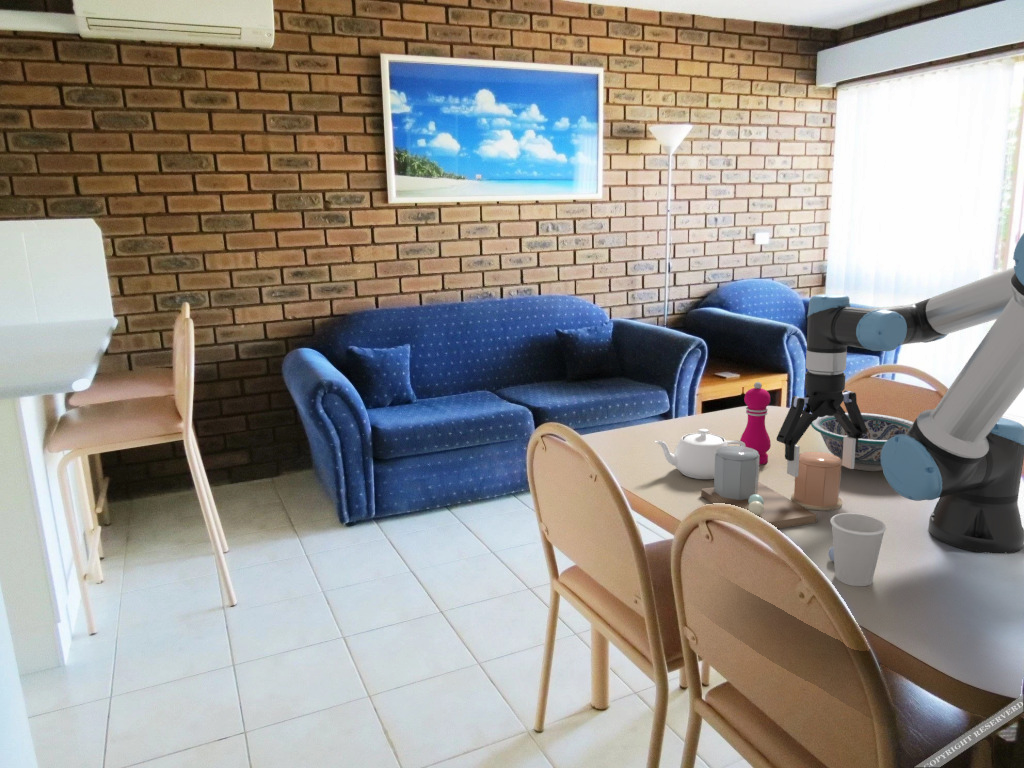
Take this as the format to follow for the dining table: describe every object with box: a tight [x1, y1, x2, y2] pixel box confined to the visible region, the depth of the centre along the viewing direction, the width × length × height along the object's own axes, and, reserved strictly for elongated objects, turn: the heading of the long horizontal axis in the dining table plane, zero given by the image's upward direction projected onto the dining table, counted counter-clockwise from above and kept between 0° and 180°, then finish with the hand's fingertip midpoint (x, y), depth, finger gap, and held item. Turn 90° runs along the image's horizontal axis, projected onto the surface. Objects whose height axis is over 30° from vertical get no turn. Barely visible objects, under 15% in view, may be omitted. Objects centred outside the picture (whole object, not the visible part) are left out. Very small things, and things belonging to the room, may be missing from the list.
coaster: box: [790, 492, 843, 512], centre depth 155 cm, size 10×10×1 cm
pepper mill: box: [739, 381, 772, 466], centre depth 179 cm, size 7×7×20 cm
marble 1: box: [748, 494, 764, 504], centre depth 148 cm, size 3×3×3 cm
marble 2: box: [748, 501, 764, 516], centre depth 145 cm, size 3×3×3 cm
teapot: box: [654, 428, 746, 480], centre depth 173 cm, size 22×14×11 cm, turn 95°
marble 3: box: [827, 546, 834, 563], centre depth 129 cm, size 3×3×3 cm
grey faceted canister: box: [713, 445, 760, 500], centre depth 157 cm, size 8×8×9 cm
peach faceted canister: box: [793, 451, 843, 507], centre depth 154 cm, size 8×8×9 cm
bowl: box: [810, 411, 914, 472], centre depth 176 cm, size 25×25×10 cm
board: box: [700, 481, 818, 529], centre depth 153 cm, size 20×14×2 cm
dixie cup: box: [829, 512, 887, 587], centre depth 122 cm, size 8×8×10 cm
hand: (820, 471), depth 153 cm, fingers open, 13 cm apart
